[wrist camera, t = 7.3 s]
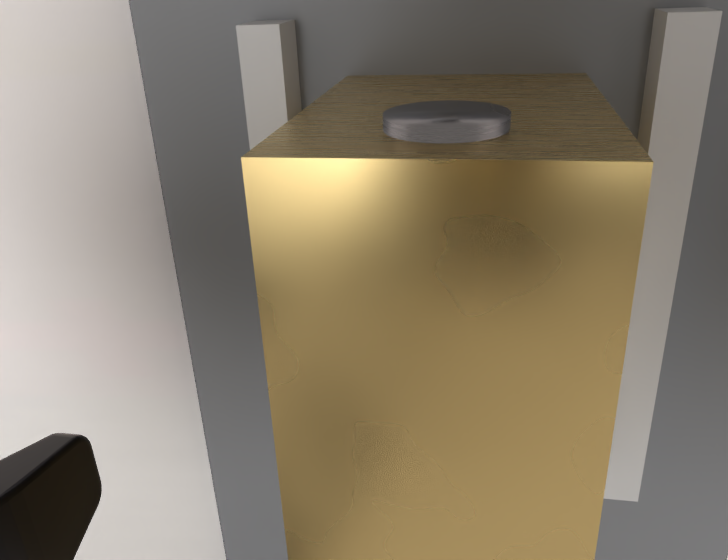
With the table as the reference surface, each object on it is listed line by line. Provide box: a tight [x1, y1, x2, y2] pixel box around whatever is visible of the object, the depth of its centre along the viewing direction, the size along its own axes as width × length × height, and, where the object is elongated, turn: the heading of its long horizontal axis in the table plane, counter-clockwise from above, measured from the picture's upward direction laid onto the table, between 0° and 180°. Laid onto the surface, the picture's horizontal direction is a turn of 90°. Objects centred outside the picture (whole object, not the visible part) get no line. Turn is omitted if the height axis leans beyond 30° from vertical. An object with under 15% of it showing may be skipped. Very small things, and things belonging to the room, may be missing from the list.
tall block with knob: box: [241, 73, 654, 560], centre depth 12 cm, size 8×4×6 cm, turn 2°
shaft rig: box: [129, 0, 728, 560], centre depth 13 cm, size 28×13×4 cm, turn 3°
